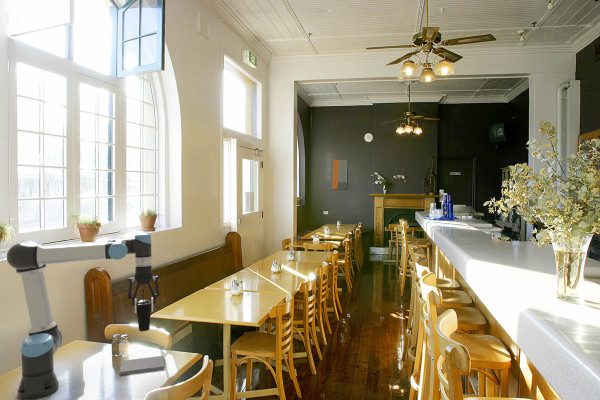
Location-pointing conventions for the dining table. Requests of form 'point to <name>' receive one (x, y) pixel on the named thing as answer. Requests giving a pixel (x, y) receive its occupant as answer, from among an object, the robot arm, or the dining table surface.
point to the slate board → (142, 365)
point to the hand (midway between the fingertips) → (144, 311)
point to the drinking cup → (143, 313)
